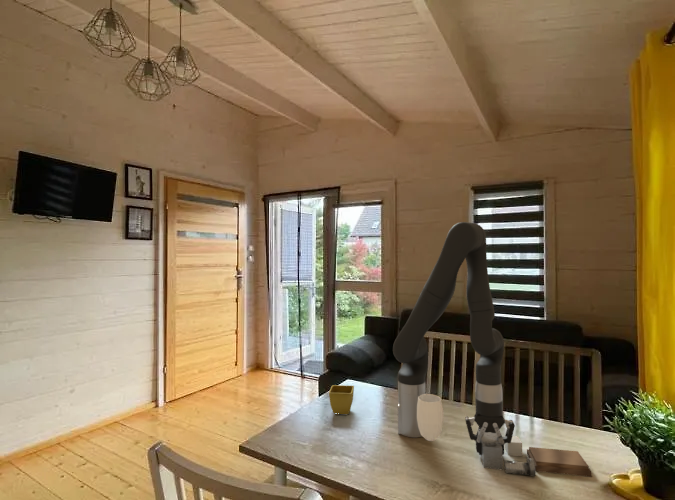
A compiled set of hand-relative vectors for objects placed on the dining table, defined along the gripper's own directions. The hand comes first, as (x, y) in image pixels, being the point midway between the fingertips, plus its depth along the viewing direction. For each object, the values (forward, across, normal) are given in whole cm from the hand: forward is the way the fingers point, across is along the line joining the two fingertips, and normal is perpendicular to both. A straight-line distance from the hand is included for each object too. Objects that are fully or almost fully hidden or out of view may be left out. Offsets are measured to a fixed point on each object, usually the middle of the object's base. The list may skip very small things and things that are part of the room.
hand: (490, 454), depth 115 cm
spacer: (+1, +7, +5) cm, 9 cm away
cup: (+1, -17, -12) cm, 21 cm away
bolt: (+1, +6, -7) cm, 9 cm away
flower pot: (+1, -50, +24) cm, 55 cm away
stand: (+1, +18, 0) cm, 18 cm away
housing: (+1, 0, -1) cm, 1 cm away
